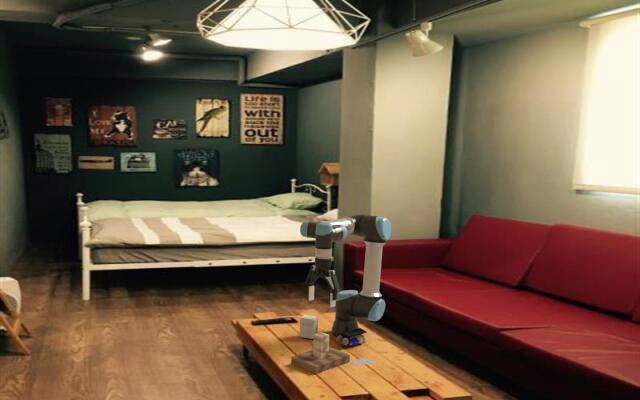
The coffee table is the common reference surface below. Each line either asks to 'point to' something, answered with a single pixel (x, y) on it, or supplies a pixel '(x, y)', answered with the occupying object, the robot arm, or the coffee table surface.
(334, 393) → the coffee table surface
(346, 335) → the toy car
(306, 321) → the small box
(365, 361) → the pad
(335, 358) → the pocket board
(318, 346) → the beech block
